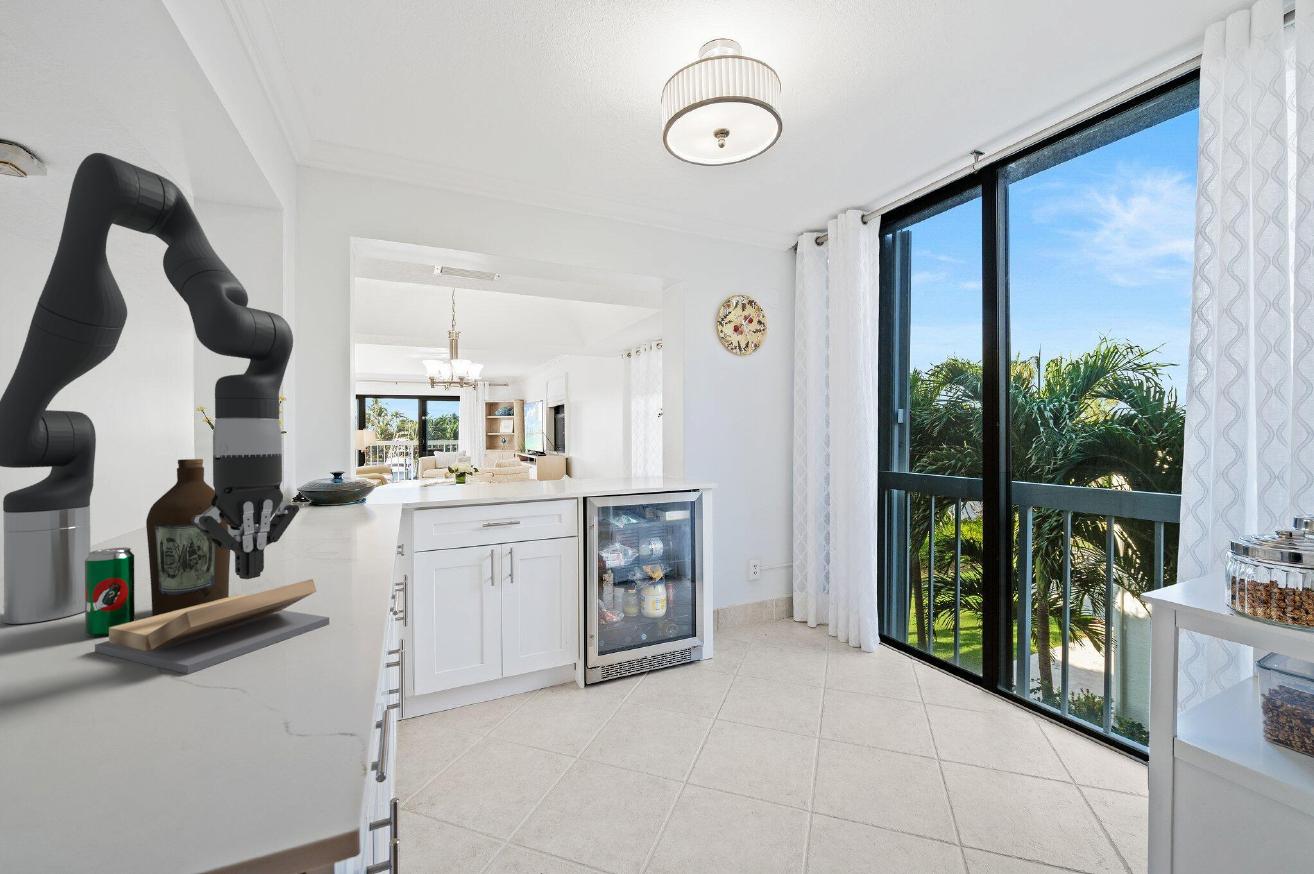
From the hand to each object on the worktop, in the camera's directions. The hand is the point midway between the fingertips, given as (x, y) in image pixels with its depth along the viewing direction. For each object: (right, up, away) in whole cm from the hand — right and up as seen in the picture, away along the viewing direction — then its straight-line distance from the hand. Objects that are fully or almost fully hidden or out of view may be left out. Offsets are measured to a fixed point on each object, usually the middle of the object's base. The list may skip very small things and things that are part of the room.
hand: (249, 577), depth 72 cm
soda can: (-24, -10, +5) cm, 26 cm away
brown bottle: (-21, -10, +14) cm, 27 cm away
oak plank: (-10, -9, +4) cm, 14 cm away
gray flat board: (-6, -9, +2) cm, 11 cm away
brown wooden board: (-2, -6, +1) cm, 6 cm away
